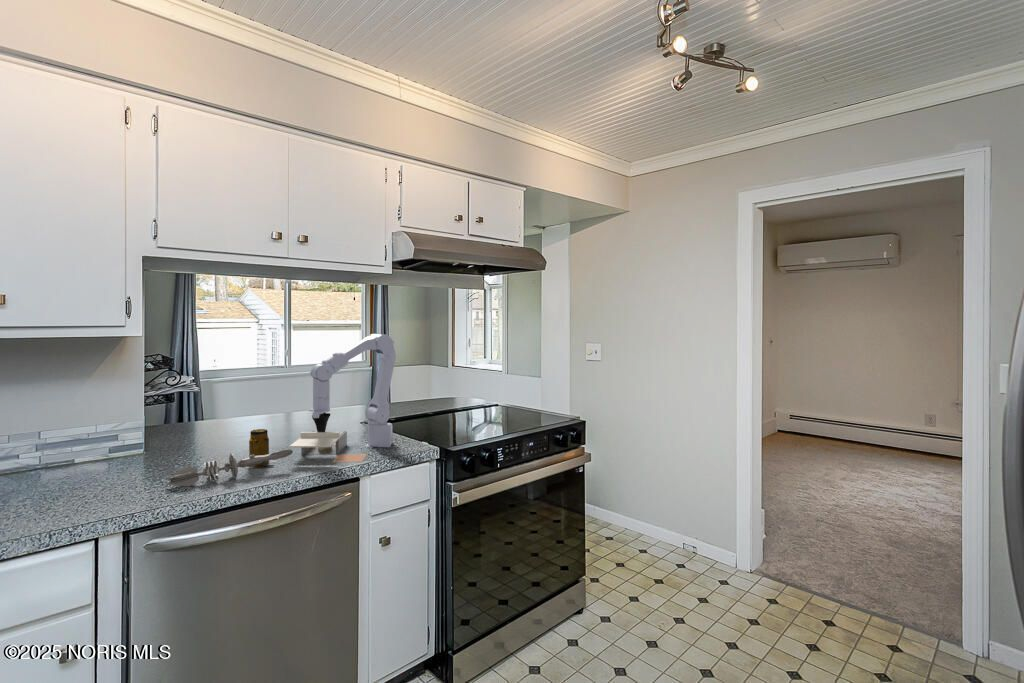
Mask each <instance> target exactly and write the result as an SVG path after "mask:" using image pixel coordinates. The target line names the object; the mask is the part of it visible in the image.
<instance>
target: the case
mask: <svg viewBox="0 0 1024 683" xmlns="http://www.w3.org/2000/svg"><path fill="white" fill-rule="evenodd" d="M311 432H316V431H315V430H313V431H311ZM347 446H348V431H347V430H344V431H342V432H341V433H340V438H339V439H338V440H337V441H336V442H335V444H333V445H332V448H331V449H330V450H329V451H318V447H300V450H301V455H339V454H341V452H342V451H343V450H344V449H345V448H346V447H347Z"/></svg>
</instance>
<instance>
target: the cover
mask: <svg viewBox="0 0 1024 683" xmlns="http://www.w3.org/2000/svg"><path fill="white" fill-rule="evenodd" d="M340 435H341V432H340V431H325V432H317V431H315V432H312V431H300V437H299V438H298V439H296V440H295V441H294V442H293V443H291V444H290V445H289V446H288V448H301V447H331V446H332V445H335V444H336V441H337V440H338V439H339V438H340Z"/></svg>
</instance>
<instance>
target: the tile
mask: <svg viewBox="0 0 1024 683" xmlns="http://www.w3.org/2000/svg"><path fill="white" fill-rule="evenodd" d="M367 456H368V454H367V453H352V454H351V453H344V454H343V453H342V454H341V453H339V454H337V456H336V457H335V458H334V459H333V460H332V463H362V462H363V461H364V459H365V458H366V457H367Z"/></svg>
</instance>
